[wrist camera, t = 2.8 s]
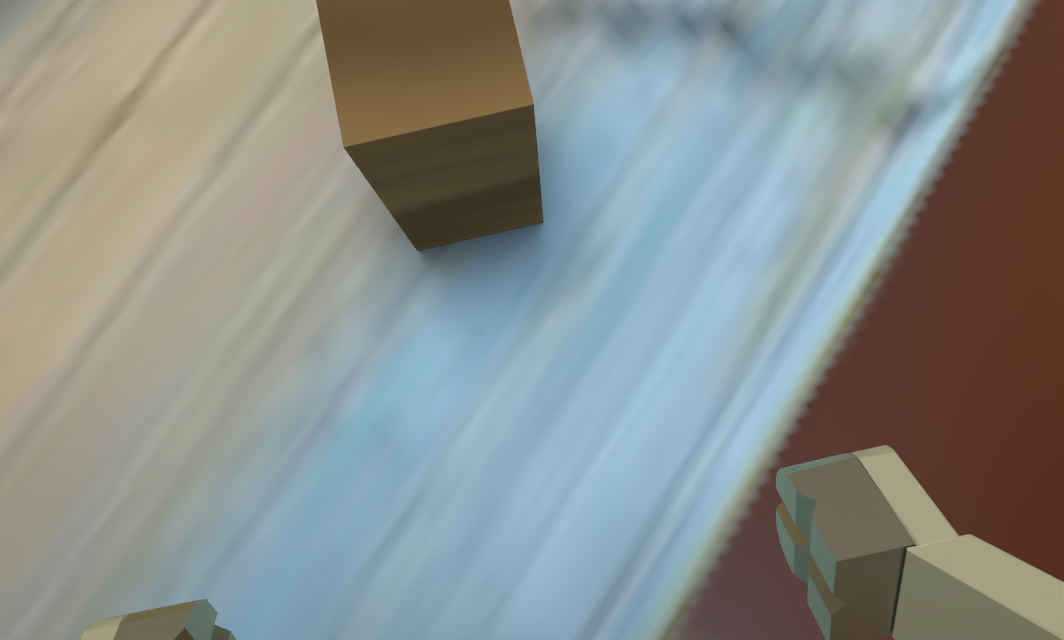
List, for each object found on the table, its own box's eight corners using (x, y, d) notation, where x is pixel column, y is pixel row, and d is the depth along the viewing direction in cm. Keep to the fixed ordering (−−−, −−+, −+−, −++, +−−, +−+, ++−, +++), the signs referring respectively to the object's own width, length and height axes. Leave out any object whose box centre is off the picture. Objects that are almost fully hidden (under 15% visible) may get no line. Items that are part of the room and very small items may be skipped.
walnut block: (543, 222, 26) (533, 104, 17) (417, 250, 26) (343, 147, 17) (518, 117, 27) (497, -47, 18) (396, 145, 27) (314, -6, 18)
